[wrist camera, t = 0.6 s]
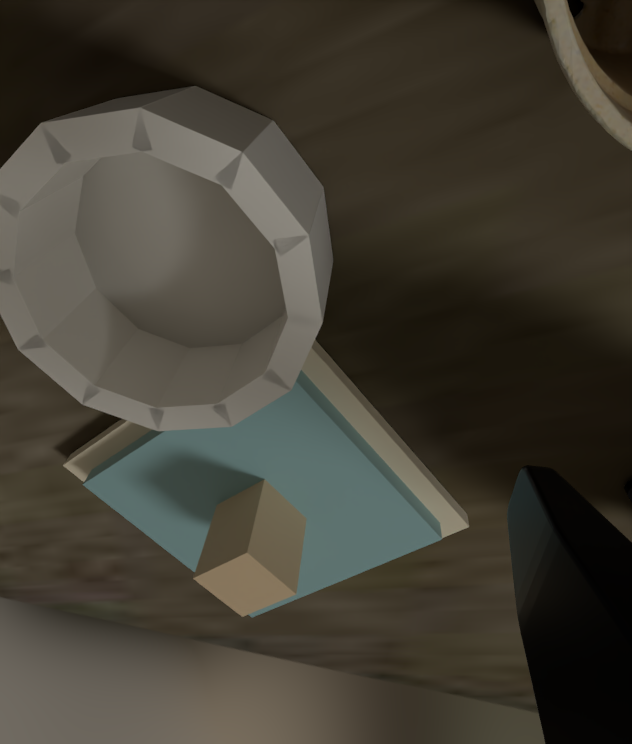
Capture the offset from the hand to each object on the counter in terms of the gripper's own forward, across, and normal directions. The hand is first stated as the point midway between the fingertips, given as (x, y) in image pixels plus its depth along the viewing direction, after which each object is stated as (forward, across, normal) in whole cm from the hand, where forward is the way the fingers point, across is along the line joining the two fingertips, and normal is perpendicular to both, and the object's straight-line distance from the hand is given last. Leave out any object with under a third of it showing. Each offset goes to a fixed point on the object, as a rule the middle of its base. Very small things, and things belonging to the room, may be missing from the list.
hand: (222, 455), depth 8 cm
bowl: (+13, +4, +1) cm, 14 cm away
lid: (+12, +2, +14) cm, 19 cm away
